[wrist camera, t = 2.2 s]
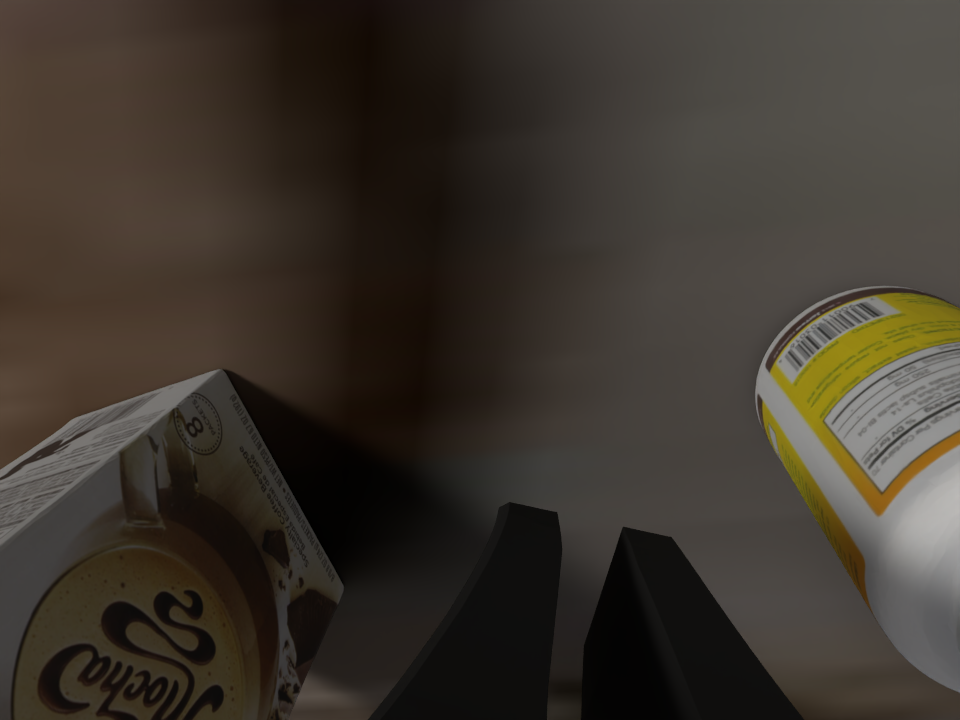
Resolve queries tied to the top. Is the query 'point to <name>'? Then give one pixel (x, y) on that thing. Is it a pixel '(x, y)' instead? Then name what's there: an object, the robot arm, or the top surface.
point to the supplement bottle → (879, 453)
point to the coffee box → (157, 567)
